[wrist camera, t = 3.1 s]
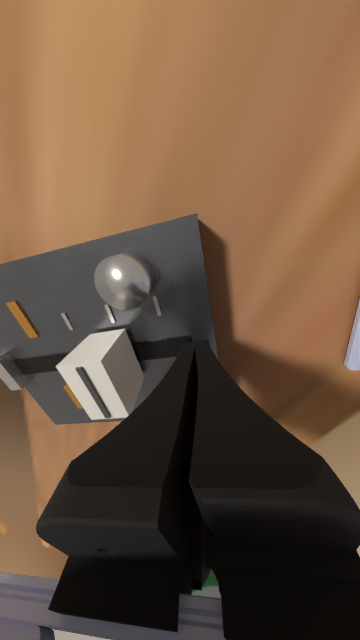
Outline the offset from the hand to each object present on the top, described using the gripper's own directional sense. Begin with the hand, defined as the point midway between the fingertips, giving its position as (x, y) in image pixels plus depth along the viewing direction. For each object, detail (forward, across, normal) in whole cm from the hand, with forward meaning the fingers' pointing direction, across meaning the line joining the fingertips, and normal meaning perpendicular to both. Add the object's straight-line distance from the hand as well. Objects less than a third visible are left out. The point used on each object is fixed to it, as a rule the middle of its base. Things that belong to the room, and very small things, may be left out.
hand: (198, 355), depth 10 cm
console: (+3, +7, 0) cm, 8 cm away
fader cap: (+1, +5, 0) cm, 6 cm away
